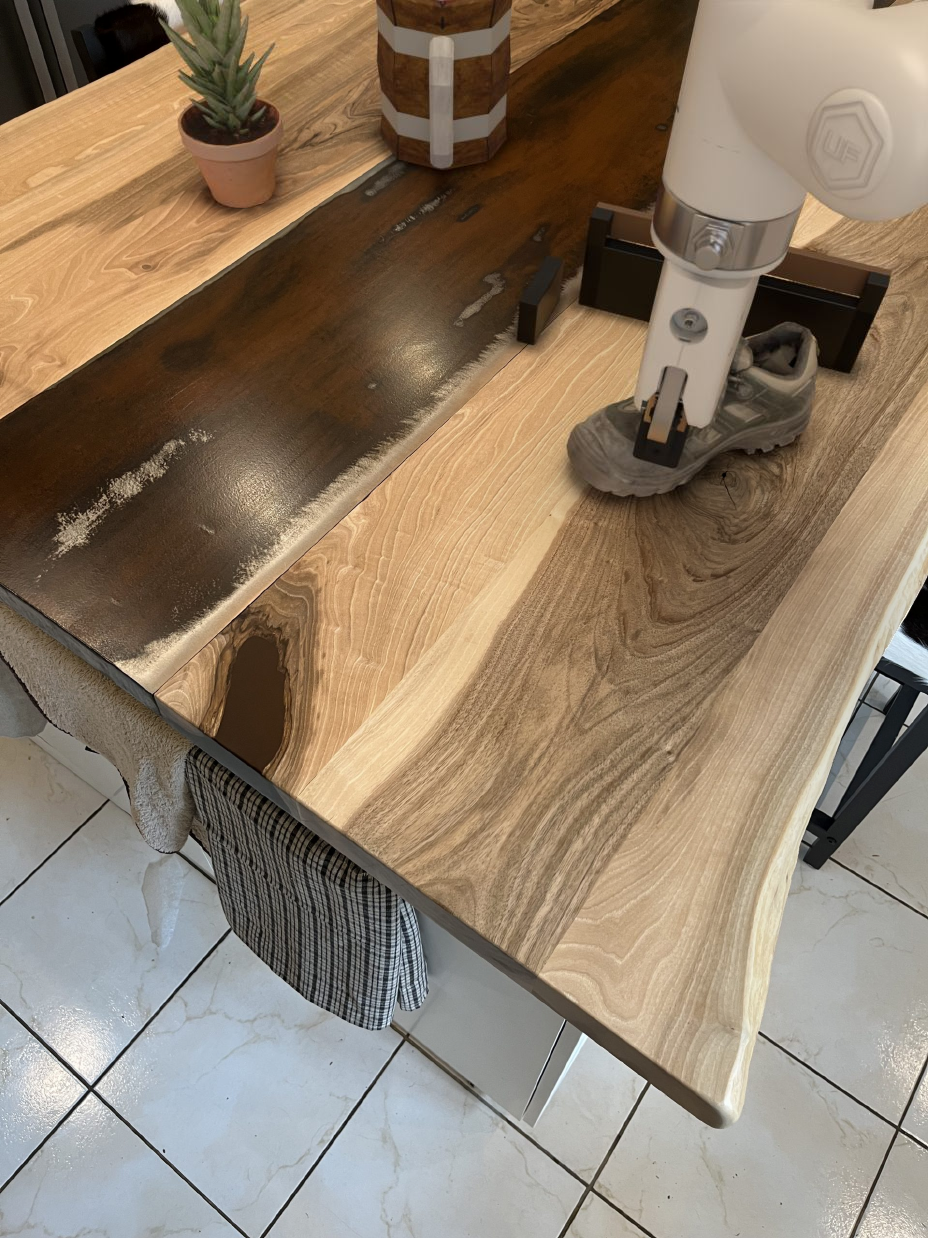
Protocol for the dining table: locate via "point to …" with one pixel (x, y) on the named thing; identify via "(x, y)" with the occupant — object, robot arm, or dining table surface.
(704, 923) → the dining table surface
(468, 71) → the mug
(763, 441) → the hiking shoe
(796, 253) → the shoe rack
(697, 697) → the dining table surface
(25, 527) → the dining table surface
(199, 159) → the potted plant
